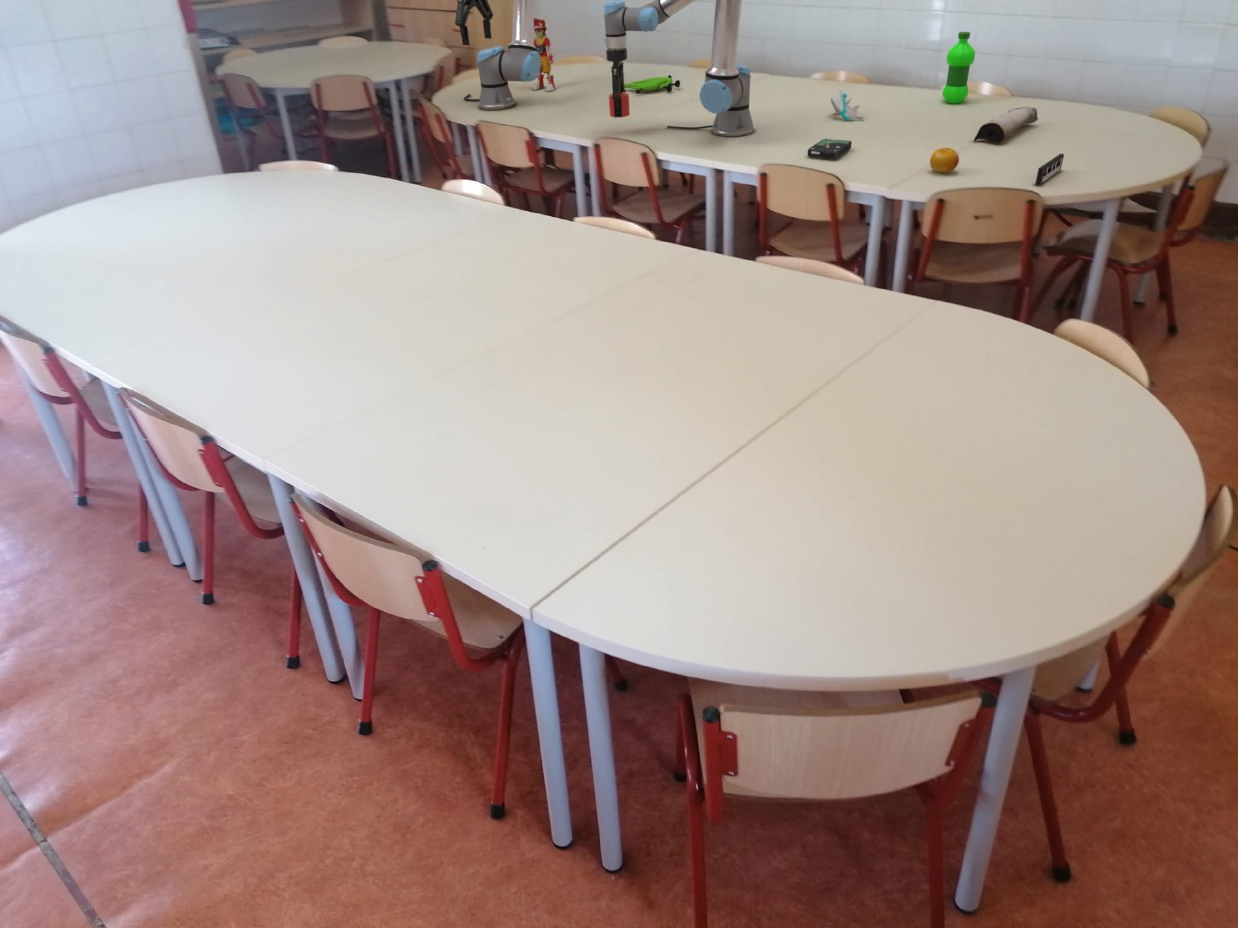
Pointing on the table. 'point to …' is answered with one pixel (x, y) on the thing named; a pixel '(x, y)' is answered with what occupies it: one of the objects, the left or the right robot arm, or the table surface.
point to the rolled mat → (1006, 124)
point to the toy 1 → (543, 54)
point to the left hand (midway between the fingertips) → (477, 42)
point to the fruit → (944, 160)
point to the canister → (623, 103)
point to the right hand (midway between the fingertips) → (619, 113)
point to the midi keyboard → (1049, 169)
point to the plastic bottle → (958, 69)
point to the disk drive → (829, 149)
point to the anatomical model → (845, 107)
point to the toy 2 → (653, 84)
